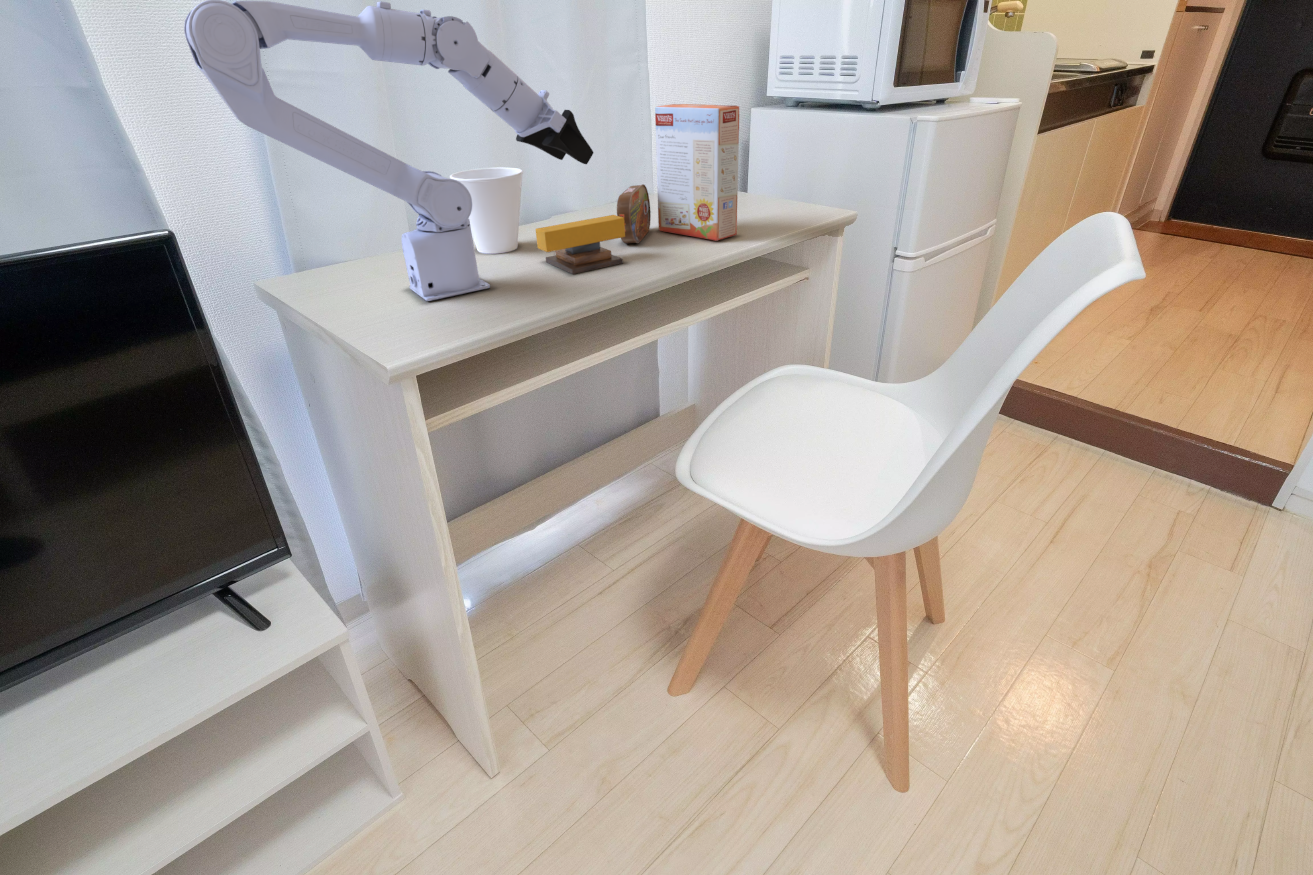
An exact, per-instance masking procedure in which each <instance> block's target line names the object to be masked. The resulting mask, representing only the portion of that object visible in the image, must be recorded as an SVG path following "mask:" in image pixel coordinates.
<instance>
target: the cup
mask: <svg viewBox="0 0 1313 875" xmlns="http://www.w3.org/2000/svg"><path fill="white" fill-rule="evenodd" d="M523 174H524V171H523V169H521V168H516V167H507V166H506V167H505V166H498V167H497V166H495V167H479V168H471V169H465V170H460V171H456V172H454V173H451V174H450V175H449V179H454V180H457V181H459V182H461V183H462V184H463V185H464V186H465V187H466V188H467V189H468V191H469V193H470V195H471V198H472V211H471V214H470V216H469V218H468V219H469V220H470V226H471V232H472V238H473V243H474V246H475V248H476V249H477V252H479V253H480V254H487V255H492V254H493V255H494V254H496V255H497V254H504V253H510V252H513V251H515V250H517V249H518V245H519V243H518V242H519V230H520V228H519V227H520V214H521V201H522V200H521V198H522V184H523Z"/></svg>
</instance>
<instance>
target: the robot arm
mask: <svg viewBox="0 0 1313 875" xmlns="http://www.w3.org/2000/svg"><path fill="white" fill-rule="evenodd" d="M183 31H184V37H185V41H186V43H187V45H188V48H189V50H190V53H191V56H192V58H193V61H194V63H195V65H196V67H197V68H198V70H199V71H200V72H201V73H202V75H204V77H205V78H206V80H207V81H208V83H210V85H211V87H213V89H214V90H215V92H216V93H217V94H218V96H219V97H220V98H221V100H222V101H223V102H224V103H225V105H226V107H228V109H229V110H230V112H231V113H232V115H233V116H234V117H235V118H236V119H237V120H238V121H239V122H240V123H242V124H244V125H245V126H247V127H248V128H251V129H252V130H255V131H257V132H258V133H261V134H263V135H265V136H267V137H270V138H272V139H274V140H276V141H278V142H281V144H284V145H286V146H288V147H290V148H293V149H294V150H297V151H299V152H301V153H304V154H305V155H307V156H309V157H312V158H314V159H316V160H318V161H320V162H322V163H325V164H327V165H329V166H331V167H333V168H334V169H337V170H338V171H341V172H343V173H345V174H347V175H350V176H351V177H353V178H356V179H358V180H360V181H362V182H364V183H366V184H369V185H371V186H372V187H375V188H377V189H379V190H380V191H383V192H385V193H387V194H389V195H392V196H394V197H396V198H398V199H400V200H402V201H404V202H406V203H407V204H408V206H410V208H411V209H412V210H413V211H414V213H416V214H417V215H418V216H417V220H416V222H415V225H416V228H415V229H414V230H411V231H407V232H404V233H402V234H401V248H402V253H403V257H404V262H405V267H406V271H407V277H408V281H409V285H408V286H409V289H410V290H411V291H413V292H414V294H416V295H417V296H419V297H421V298H422V300H425V301H426V302H431V301H435V300H440V299H445V298H450V297H454V296H459V295H463V294H467V293H468V294H469V293H472V292H477V291H483V290H486V289H490V288H491V284H490V283H489V282H487V281H486V280H485V281H484V280H483V279H481V278H480V275H479V270H478V264H477V257H476V256H477V255H476V253H475V252H476V251H475V250H476V249H475V243H474V239H473V236H472V232H471V226H470V220H469V219H468V218H469V216H470V214H471V211H472V198H471V195H470V193H469V191H468V189H467V188H466V187H465V186H464V185H463V184H462V183H461V182H459V181H457V180H454V179H451V178H448V177H445V176H443V175H441V174H439V173H437V172H435V171H431V170H421V169H419V168H416V167H415V166H412V165H410V164H408V163H406V162H404V161H402V160H400V159H398V158H396V157H395V156H393V155H391V154H388V153H386V152H385V151H383V150H381V149H380V148H379V149H378V148H377V147H375V146H373V145H371V144H369V143H367V142H365V141H363V140H362V139H359V138H357V137H355V136H354V135H351V134H349V133H348V132H346V131H343V130H341V129H340V128H337V127H336V126H334V125H332V124H330V123H328V122H326V121H324V120H322V119H320V118H318V117H316V116H314V115H313V114H311V113H308V112H307V111H304V110H302V109H301V108H299V107H297V106H295V105H293V104H291V103H289V102H287V101H285V100H283V99H281V98H279V97H277V95H275V93H274V90H273V88H272V86H271V84H270V80H269V79H268V76H267V74H266V72H265V69H264V68H263V65H262V55H261V50H266V49H271V48H273V47H274V46H277V45H279V44H281V43H284V42H285V41H287V40H289V41H290V40H291V41H300V42H312V43H321V44H335V45H344V46H355V47H359V48H360V49H361V50H362V51H363V52H364V53H365V54H366V56H367V57H368V58H369V59H370V60H372V61H378V62H387V63H395V64H404V65H411V66H413V65H414V66H421V67H424V66H426V65H429V67H431V68H433V69H435V70H439V69H446V70H447V69H448V71H447V73H448V74H449V75H451V76H452V77H453V78H454V79H455V80H457V81H458V83H460V84H461V85H462V86H463V87H464V88H465V89H466V90H467V91H468V93H471V94H472V95H473V96H474V97H475V98H476V99H477V100H479V101H480V102H481V103H482V104H483V105H485V106H486V107H487V108H488V109H490V111H492V112H493V113H494V114H495V115H496V116H498V117H499V118H500V119H501V120H502V121H504V122H505V123H506V124H507V125H508V126H510V127H511V129H513V130H514V132H515V133H516V134H517V135H516V137H515V141H516V142H519V143H523V144H527V145H530V146H532V147H535V148H536V149H539V150H541V151H543V152H544V153H546V154H548V155H550V156H551V157H553V158H555V159H558V160H560V161H563V160H564V158H565V156H566V155H568V156H569V157H570V158H572V159H574V160H575V161H577V162H578V163H581V164H583V165H588V163H590V160H591V159H592V157H593V155H594V153H595V152H594V151H593V149H592V147H591V146H590V145H589V144H590V143H589V142H588V141H587V140H586V138H585V137H584V136H583V134H582V133H581V131H580V129H579V126H578V125H577V122H576V119H575V115H574V113H573V112H572V111H571V109H564V110H563V112H562V113H560V112H559V111H558V110H557V109H554V108H553V107H552V106H551V104H550V103H549V102H548V98H549V96H550V92H549V91H548V90H546V89H541V90H540V91H539V92H538V93H537V92H536V91H535V90H534V89H532V88H531V87H530V86H529V85H528V84H527V83H526V82H525V81H524V80H523V79H522V78H521V77H520V76H519V75H517V73H515V71H513V70H512V69H511V68H510V67H508V66H507V65H506V63H505V62H503V61H502V60H501V59H500V58H499V57H498V56H497V55H496V54H494V53H493V52H492V51H491V50H489V49H488V48H487V47H485V45H483V44H482V43H481V42H480V41H479V38H478V36H477V33H476V30H475V29H474V27H473V26H472V24H471V23H470V22H469V21H463V19H461V18H458V17H457V16H452V15H447V16H440V17H437V16H432V12H431V10H430V9H425V8H422V9H420V10H419V12H415V11H408V10H401V9H396V8H392V6H391V2H388V1H381V0H380V1H377V2H376V6H375V5H367V6H366V7H365V8H364V9H362V11H361V12H360V13H359V14H358V15H351V14H345V13H340V12H334V11H328V10H323V9H317V8H310V7H306V6H300V5H294V4H288V3H284V2H283V3H282V2H276V1H271V0H270V1H269V0H235V1H233V2H231V3H230V2H228V1H225V0H204V1H201V2H200V3H198V4H197V5H195V6H194V7H193V8H192V9H191V10H190V11H189V12H188V14H187V15H186V18H185V20H184V24H183Z"/></svg>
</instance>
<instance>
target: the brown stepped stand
mask: <svg viewBox="0 0 1313 875" xmlns="http://www.w3.org/2000/svg"><path fill="white" fill-rule="evenodd" d="M554 252H555V255H554V254H553V255H550V256H546V257H545V262H546V263H547V264H550V265H551V266H555V268H559V269H560V270H563V271H565V272H567V273H569V274H571V275H576V274H580V273H585V272H589V271H594V270H598V269H603V268H608V267H612V266H613V267H614V266H617V265H622V264H624V260H623V258H622V257H619V256H617V255H614V254H612V250H611V249H608V248H605V247H603V246H601V242H597V243H592V244H586V245H581V246H576V247H571V248H566V249H561V250H556V251H554Z"/></svg>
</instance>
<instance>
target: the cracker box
mask: <svg viewBox="0 0 1313 875" xmlns="http://www.w3.org/2000/svg"><path fill="white" fill-rule="evenodd" d="M654 108H655V109H654V116H655V117H654V118H655V120H654V122H655V143H656V144H655V147H656V149H655V150H656V151H655V152H656V184H657V185H656V188H657V222H658V231H660V232H664V233H672V234H677V235H682V236H689V237H693V238H699V239H704V240H709V241H714V242H717V241H720V240H724V239H728V238H732V237H734V236H737V233H738V232H737V230H738V193H739V191H738V190H739V146H740V105H736V104H735V105H727V104H726V105H725V104H724V105H723V104H701V103H698V104H697V103H671V104H664V105H657V106H655V107H654Z"/></svg>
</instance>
